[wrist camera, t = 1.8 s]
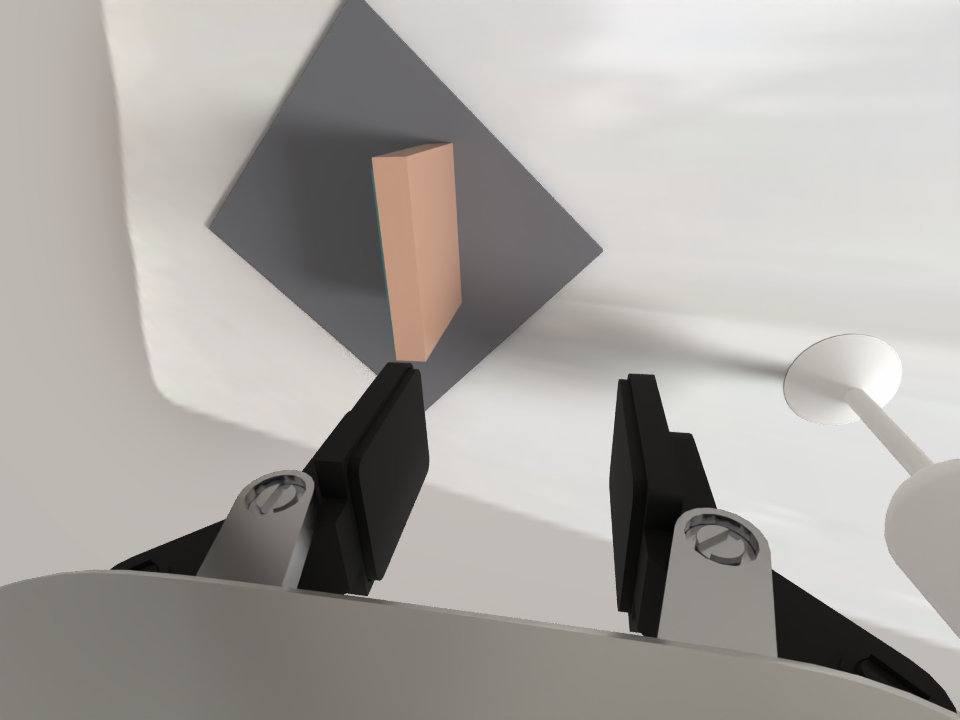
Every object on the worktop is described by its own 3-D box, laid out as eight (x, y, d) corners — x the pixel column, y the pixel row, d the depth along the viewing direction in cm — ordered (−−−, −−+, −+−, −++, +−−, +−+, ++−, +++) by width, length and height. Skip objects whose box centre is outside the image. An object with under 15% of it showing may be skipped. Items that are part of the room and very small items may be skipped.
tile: (421, 143, 31) (365, 157, 23) (452, 142, 30) (406, 156, 22) (434, 302, 35) (391, 359, 27) (461, 302, 35) (425, 361, 27)
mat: (213, 226, 36) (208, 228, 36) (357, -8, 28) (353, -9, 28) (424, 410, 40) (422, 413, 39) (602, 249, 32) (603, 251, 31)
